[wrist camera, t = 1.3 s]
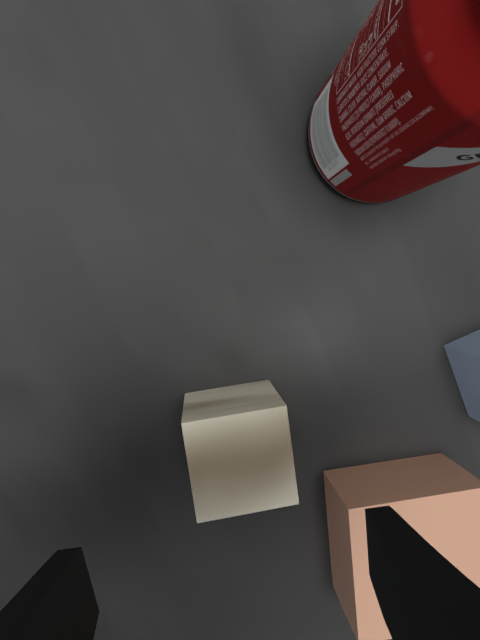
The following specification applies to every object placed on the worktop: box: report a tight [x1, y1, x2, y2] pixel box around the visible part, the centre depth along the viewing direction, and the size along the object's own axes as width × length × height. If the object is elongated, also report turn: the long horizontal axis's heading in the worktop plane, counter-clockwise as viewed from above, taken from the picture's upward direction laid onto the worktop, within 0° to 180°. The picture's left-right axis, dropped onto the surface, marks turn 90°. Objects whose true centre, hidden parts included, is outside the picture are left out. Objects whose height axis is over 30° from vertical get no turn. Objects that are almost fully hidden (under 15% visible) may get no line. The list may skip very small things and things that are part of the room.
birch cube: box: [181, 380, 299, 523], centre depth 19 cm, size 4×4×4 cm
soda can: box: [308, 0, 480, 203], centre depth 15 cm, size 7×7×12 cm
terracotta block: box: [323, 453, 480, 640], centre depth 21 cm, size 7×7×4 cm
